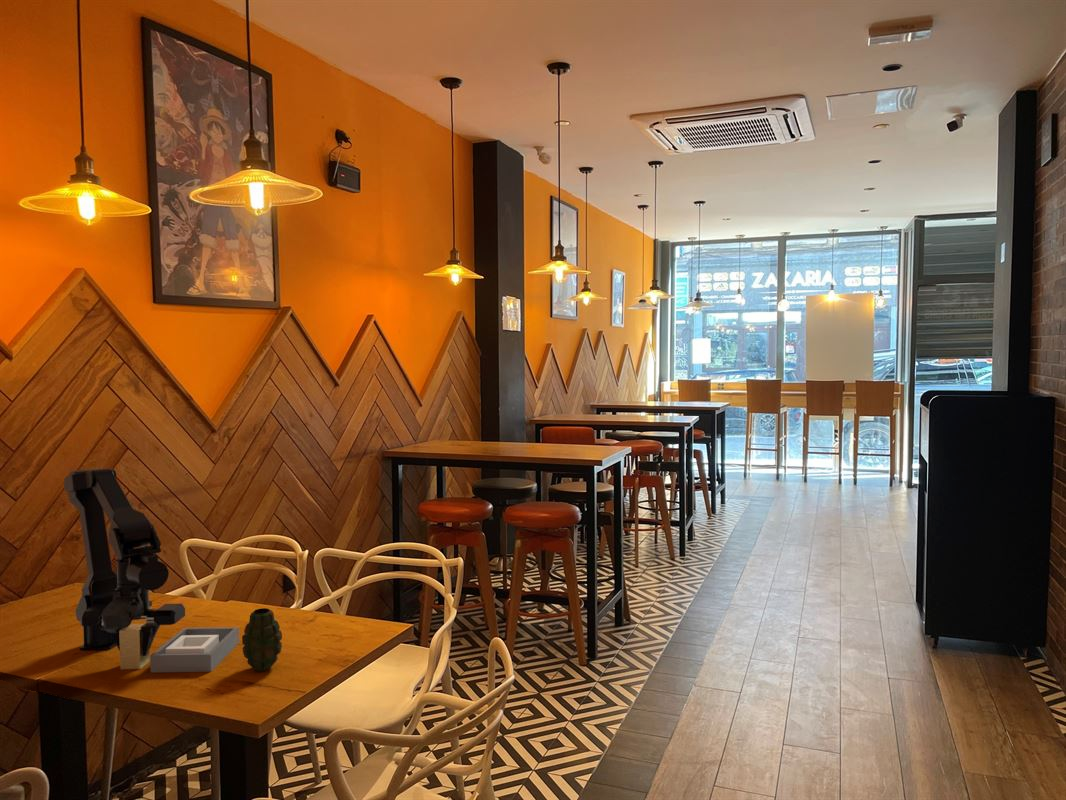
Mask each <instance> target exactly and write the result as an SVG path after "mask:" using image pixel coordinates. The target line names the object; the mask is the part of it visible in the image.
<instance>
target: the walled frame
mask: <svg viewBox="0 0 1066 800" xmlns="http://www.w3.org/2000/svg"><path fill="white" fill-rule="evenodd" d="M238 644H240V627H239V626H235V627H234V626H232V627H229V626H227V627H226V626H225V627H224V626H223V627H184V628H183V629H181V630H180V631H179V632H177V633H176V634H175V635H174V636H172V637H171V638H170V639H169V640H167V641H166V642H165V643H164V644H163V645H161V646H160V647H158V649H156V650H155V651H154V652H153V653H151V654H149V659H150V661H149V663H150V664H149V665H150V674H151V673H202V672H203V673H204V672H206V673H207V672H209V673H210V672H212V671H213V670H214V669H215V668H217V666H218V665H219V664H220V663H221V662H222V661H223V660H224V659H225V658H226V657H227V656H228V655H229V654H230V653H231V652H232V651H233V650H234V649H235V648H236V647H237V646H238Z"/></svg>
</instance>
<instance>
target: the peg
mask: <svg viewBox="0 0 1066 800" xmlns="http://www.w3.org/2000/svg"><path fill="white" fill-rule="evenodd" d="M144 624H145V623H131V624H130V625H129V626H128V627H126V628H122V629H121V630H119V639H120V651H119V669H120V670H141V669H142V668H143V667H145V666H146V665H147V664H148V663H150V651H149V652H148V654H147V655H146V656H144V655H143V631H142V629H141V626H143V625H144Z"/></svg>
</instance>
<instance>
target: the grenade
mask: <svg viewBox="0 0 1066 800" xmlns="http://www.w3.org/2000/svg"><path fill="white" fill-rule="evenodd" d="M248 620H249V622H248V623H247V624H246V625H245V627H244V630H243V633H244V634H243V635H242V637H241V640H242V642H241V644H242V645H243V647H242V654H243V657H244V658H246V659H247V662H246V663H247V664H248V665H249V666H250V667H251V668H253V670H255V671H256V672H266V671H268V670H270V669H271V668H272V666H273V665H274V664H275V663H276V662H277V661H278V659H279V658H278V655H280V654H281V652H282V647H283V645H282V642H281V640H282V639H283V633H282V631H281V630H280V624H279V622H278V621H277V620H276V619H275V615H274V612H273V610H270V608H266V607H264V608H263V607H262V608H257V609H255V610H254V611H252V612H251V613H250V615H249V619H248Z"/></svg>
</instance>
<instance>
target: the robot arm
mask: <svg viewBox="0 0 1066 800" xmlns="http://www.w3.org/2000/svg"><path fill="white" fill-rule="evenodd" d="M117 477H118V476H117V472H116V470H115V469H114V468H110V467H109V468H108V467H107V468H90V469H80V470H72V471H70V472H69V474H68V475H66V476H65V477H64V480H63V487H64V491H65V493H67V496H68V497H67V498H68V500H69V502H70V503H71V504H72V505H73V506H74V507H75V508H76V510H78V513H79V517H80V518H79V519H80V525H81V532H82V533H81V535H82V541H83V548H84V553H85V560H86V569H87V578H86V579H85V581H84V584H83V586H82V588H81V597H80V599H79V602H78V604H77V606H76V608H75V617H76V621H78V622H80V626H81V627H82V629H83V644H82V645H81V646H79V650H85V651H86V650H110V649H112V648H113V647H114V646H116V647H117V649H118V651H119V652H120V639H119V630H121V629H122V628H126V627H128V626H129V625H130V624H132V622H133V621H135V620H136V621H139V620H142V619H143V620H145V623H143V624H144V625H143V626H141V629H142V631H143V655H144V656H146V655H147V654H148V652H149V653H150V649H151V647H152V644H153V643H154V642H153V641H154V639H155V637H156V634H157V633H158V630H159V628H160V627H161V626H172V625H175V624H177V623H178V622H179V621H180V620H182V619H183V618H184V617H186V607H185V606H184V605H183V603H164V604H162V605H161V606H160V607H159V608H151V607H152V606H153V600H150V591H155V590H158V589H160V588H161V587H163V586H164V585H165V584H166V582H167V581H168V578H169V573H170V572H169V569H168V567H167V565H166V564H165V563H164V562H163V561H159V556H158V554H159V553H161V552H162V548H161V545H162V543H161V540H160V538H159V536H158V534H157V531H156V529H155V527H154V525H153V523H151V521H150V520H149V518H148V517H147V516H146V515H145V514H144V512H141V511H139V510H137V509H134V508H133V506H132V504H131V502H130V501H129V499H128V497H127V496H126V493H125V491H124V490H123V488H122V486H121V485H120V482H119V481H118V479H117ZM105 515H106V518H107V519H108V521H109V524H110V525H109V530H108V531H107V524H106V518H105ZM110 546H111V549H112V551H113V552H114V557H115V558H116V572H115V571H114V570H113V564H112V559H111V551H110Z"/></svg>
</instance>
